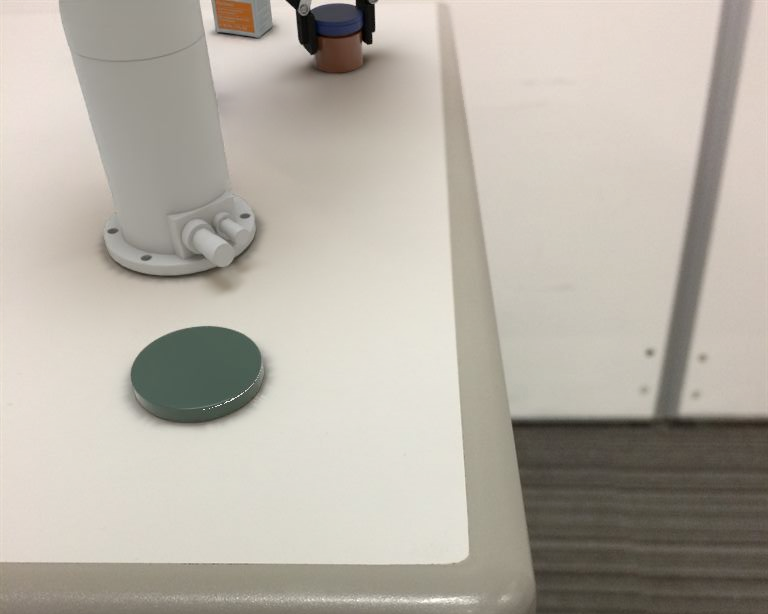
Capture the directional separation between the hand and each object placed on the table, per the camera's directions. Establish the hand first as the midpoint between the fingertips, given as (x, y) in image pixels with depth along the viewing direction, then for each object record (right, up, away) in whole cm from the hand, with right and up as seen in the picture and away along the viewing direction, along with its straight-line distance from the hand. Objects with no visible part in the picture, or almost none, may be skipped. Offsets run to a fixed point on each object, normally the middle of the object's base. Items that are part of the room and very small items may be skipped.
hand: (337, 43), depth 92 cm
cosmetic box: (-12, +7, +9) cm, 16 cm away
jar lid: (0, +2, -2) cm, 3 cm away
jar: (0, -1, +1) cm, 2 cm away
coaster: (-8, -43, -35) cm, 56 cm away
